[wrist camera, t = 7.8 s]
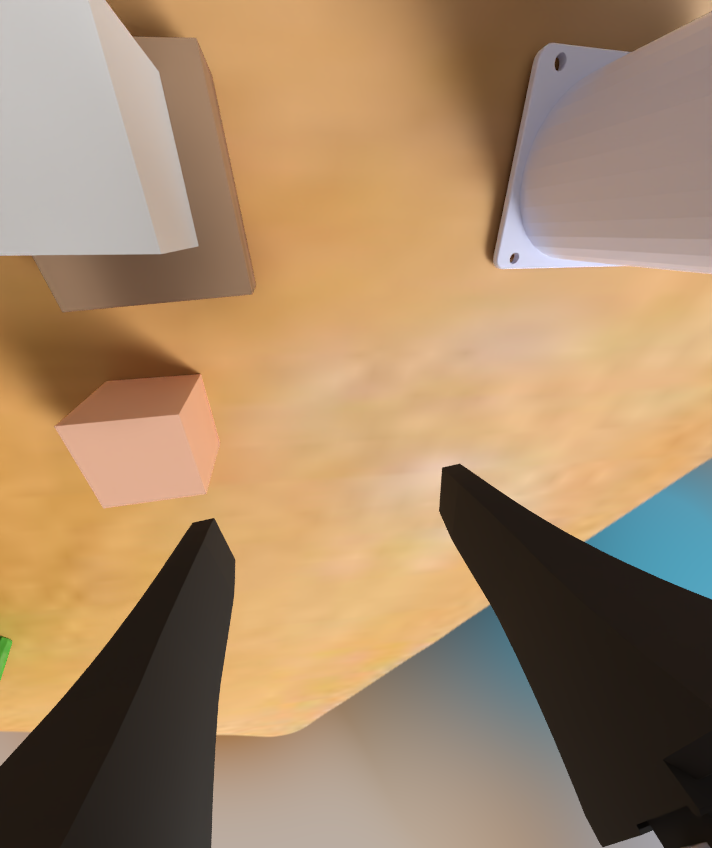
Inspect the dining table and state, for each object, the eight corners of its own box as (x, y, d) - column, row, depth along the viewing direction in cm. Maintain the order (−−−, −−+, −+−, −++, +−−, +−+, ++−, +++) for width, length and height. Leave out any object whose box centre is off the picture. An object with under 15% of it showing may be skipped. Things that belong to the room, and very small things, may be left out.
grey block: (159, 72, 9) (78, -36, 6) (198, 246, 12) (161, 254, 8) (-23, 55, 8) (-262, -83, 5) (60, 247, 11) (-55, 256, 7)
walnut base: (213, 79, 12) (196, 37, 9) (256, 284, 15) (252, 294, 13) (-2, 79, 11) (-89, 32, 8) (100, 298, 14) (62, 312, 12)
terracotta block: (201, 373, 17) (178, 414, 13) (220, 442, 19) (206, 494, 15) (107, 380, 16) (54, 426, 12) (139, 451, 18) (103, 508, 14)
